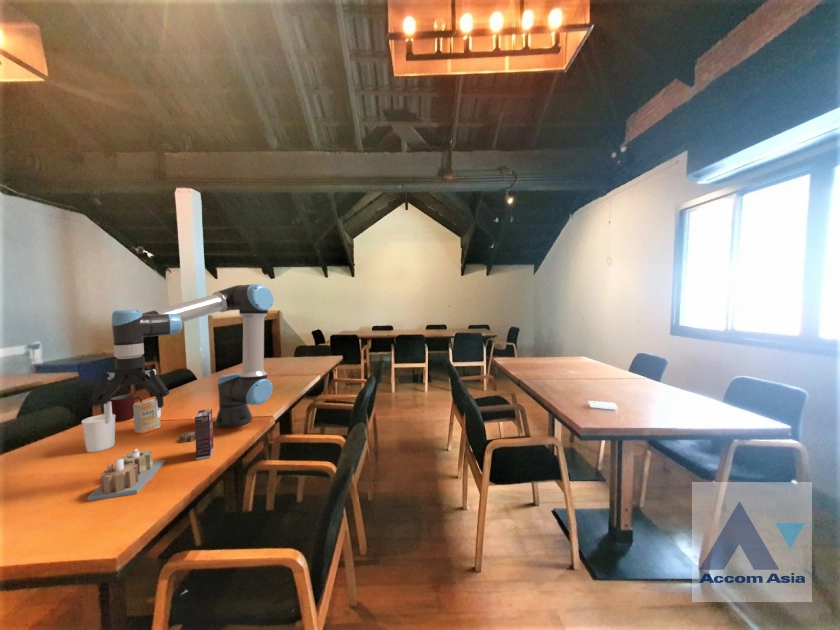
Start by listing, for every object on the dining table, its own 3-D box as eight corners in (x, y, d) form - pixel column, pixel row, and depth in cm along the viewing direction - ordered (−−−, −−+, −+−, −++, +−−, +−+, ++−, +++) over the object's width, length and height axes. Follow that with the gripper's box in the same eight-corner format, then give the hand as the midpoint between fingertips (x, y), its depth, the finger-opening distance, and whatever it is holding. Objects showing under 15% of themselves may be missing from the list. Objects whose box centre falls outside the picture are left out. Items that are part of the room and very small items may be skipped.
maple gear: (157, 462, 120) (156, 448, 119) (145, 473, 112) (144, 459, 111) (128, 466, 117) (127, 452, 117) (114, 478, 109) (113, 463, 109)
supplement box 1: (141, 434, 148) (139, 405, 147) (134, 433, 150) (132, 404, 149) (161, 427, 156) (159, 399, 155) (154, 426, 157) (152, 398, 157)
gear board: (164, 463, 122) (163, 437, 121) (137, 493, 103) (135, 463, 102) (123, 468, 118) (122, 442, 118) (87, 501, 99) (85, 470, 98)
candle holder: (96, 454, 130) (94, 423, 129) (76, 452, 132) (74, 421, 131) (123, 443, 139) (121, 414, 139) (104, 441, 141) (102, 413, 141)
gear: (196, 435, 146) (196, 430, 146) (196, 440, 141) (196, 434, 141) (180, 438, 143) (179, 433, 143) (179, 443, 138) (178, 437, 138)
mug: (145, 414, 175) (144, 393, 174) (139, 419, 167) (137, 397, 166) (116, 417, 170) (115, 395, 170) (108, 423, 162) (106, 400, 162)
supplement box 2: (211, 457, 125) (209, 415, 124) (195, 460, 123) (193, 417, 122) (214, 448, 133) (212, 408, 132) (199, 451, 131) (197, 410, 130)
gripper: (178, 352, 120) (181, 411, 121) (89, 357, 112) (94, 420, 114) (169, 355, 113) (173, 418, 114) (74, 361, 105) (79, 428, 106)
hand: (133, 419), depth 114 cm, fingers open, 13 cm apart
